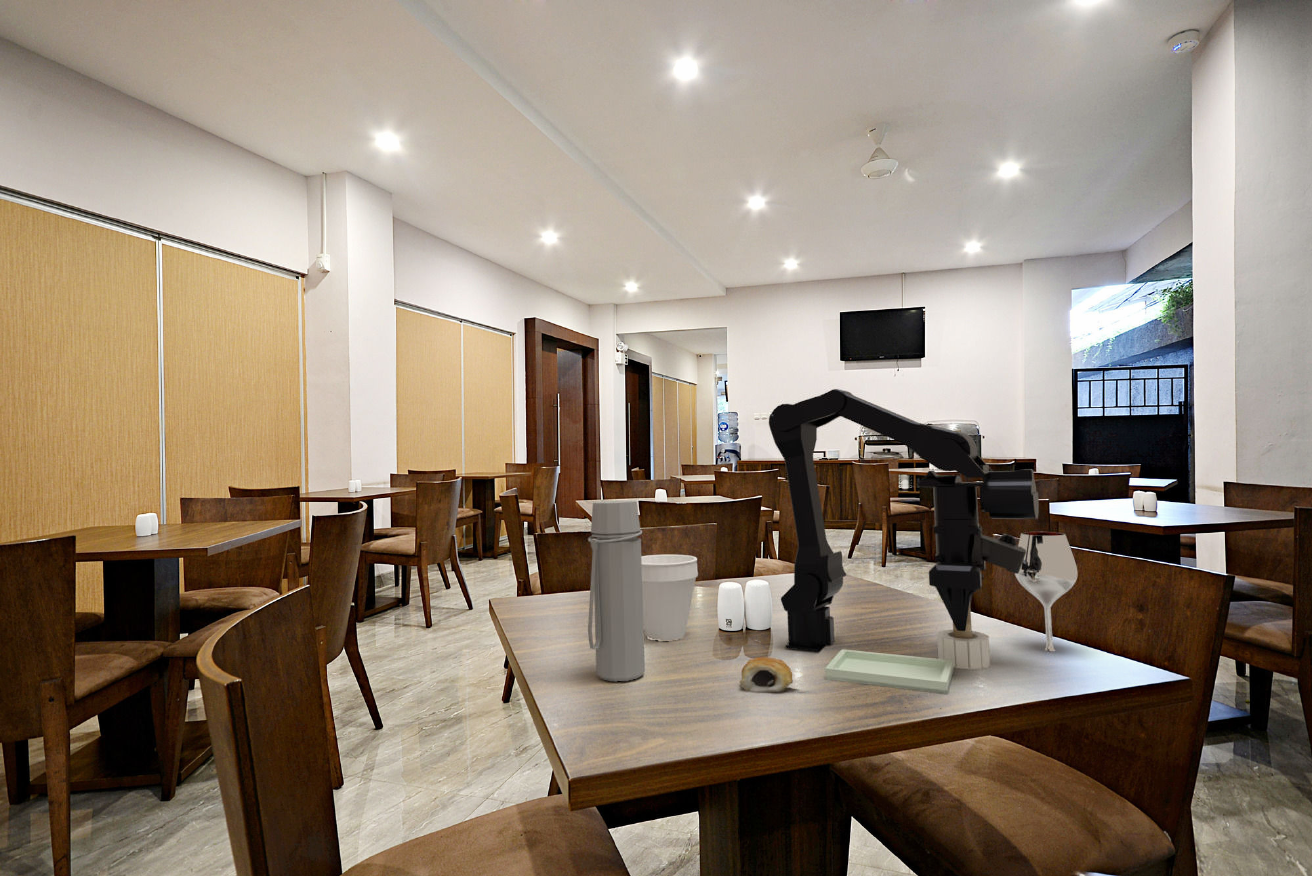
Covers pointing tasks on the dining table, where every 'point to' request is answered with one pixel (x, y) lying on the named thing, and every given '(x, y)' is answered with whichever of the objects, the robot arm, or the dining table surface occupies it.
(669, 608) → the cup
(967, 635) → the dowel
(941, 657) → the holder
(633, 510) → the water bottle
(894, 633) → the dining table surface
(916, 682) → the tray
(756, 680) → the pastry
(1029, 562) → the wineglass
